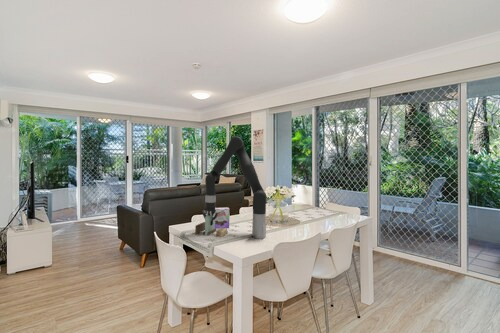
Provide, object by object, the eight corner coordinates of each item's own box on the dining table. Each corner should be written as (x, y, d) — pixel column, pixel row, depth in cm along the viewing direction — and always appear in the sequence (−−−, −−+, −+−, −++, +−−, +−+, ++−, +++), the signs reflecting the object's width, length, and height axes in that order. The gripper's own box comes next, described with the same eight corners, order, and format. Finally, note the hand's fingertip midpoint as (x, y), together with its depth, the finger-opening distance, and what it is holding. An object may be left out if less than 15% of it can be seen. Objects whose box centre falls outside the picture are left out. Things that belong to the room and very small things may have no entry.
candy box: (211, 230, 215) (211, 208, 215) (210, 228, 221) (211, 207, 220) (229, 229, 218) (229, 208, 217) (228, 227, 224) (228, 207, 223)
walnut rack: (216, 232, 209) (216, 223, 208) (207, 237, 197) (208, 227, 197) (203, 231, 212) (204, 221, 212) (195, 235, 201) (195, 225, 200)
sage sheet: (214, 232, 208) (214, 213, 208) (207, 236, 198) (207, 216, 197) (212, 232, 209) (212, 213, 208) (204, 236, 199) (205, 216, 198)
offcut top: (226, 230, 205) (227, 228, 205) (223, 234, 195) (223, 231, 195) (220, 230, 206) (220, 227, 205) (216, 233, 196) (216, 231, 196)
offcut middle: (227, 233, 204) (227, 230, 204) (222, 237, 195) (222, 234, 195) (221, 232, 206) (221, 230, 206) (215, 236, 196) (215, 233, 196)
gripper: (221, 201, 204) (220, 225, 204) (204, 199, 208) (204, 222, 209) (216, 202, 197) (216, 227, 197) (199, 201, 201) (198, 225, 202)
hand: (209, 225), depth 203 cm, fingers closed on sage sheet, 2 cm apart
